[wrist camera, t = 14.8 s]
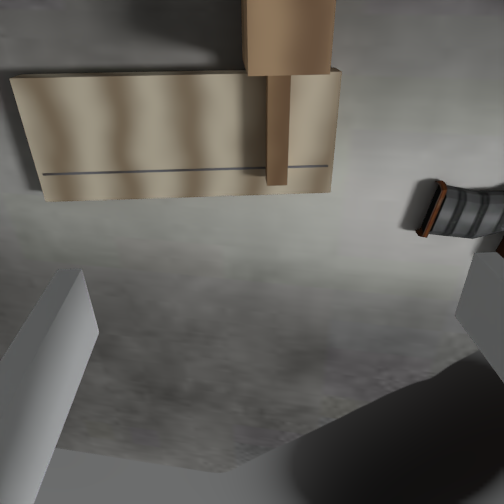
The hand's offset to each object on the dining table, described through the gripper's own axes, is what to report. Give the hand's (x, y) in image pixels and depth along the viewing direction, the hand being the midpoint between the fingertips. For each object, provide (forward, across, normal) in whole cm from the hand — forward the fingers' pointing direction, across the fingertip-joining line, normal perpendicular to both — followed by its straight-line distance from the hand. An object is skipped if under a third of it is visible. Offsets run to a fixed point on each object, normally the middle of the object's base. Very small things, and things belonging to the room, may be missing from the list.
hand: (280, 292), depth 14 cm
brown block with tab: (+32, +3, +1) cm, 32 cm away
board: (+32, -6, -3) cm, 32 cm away
